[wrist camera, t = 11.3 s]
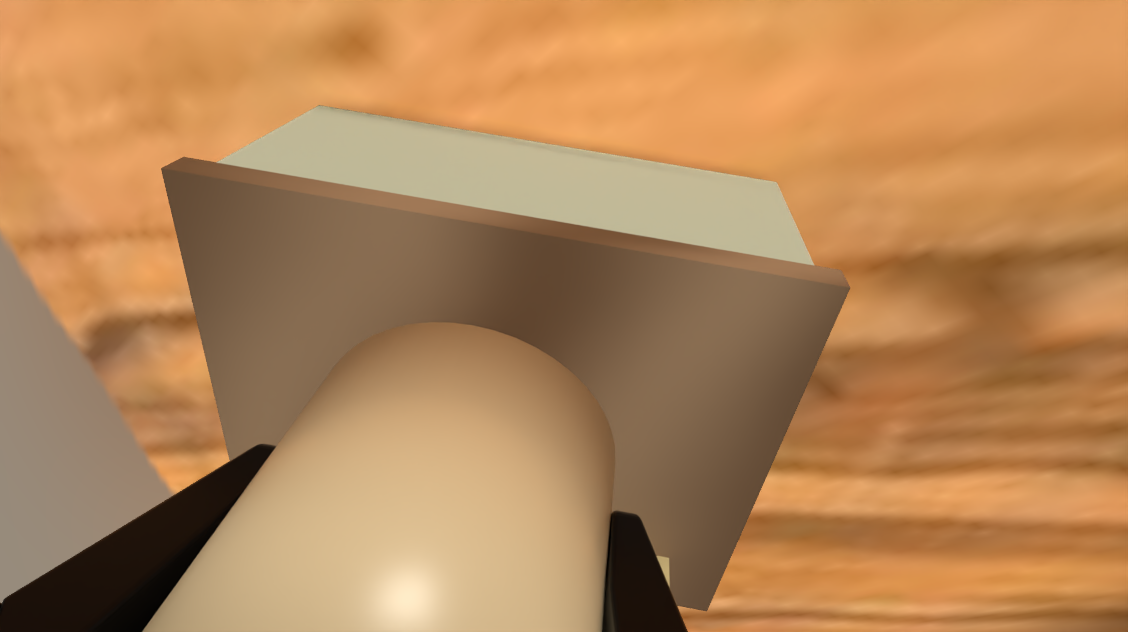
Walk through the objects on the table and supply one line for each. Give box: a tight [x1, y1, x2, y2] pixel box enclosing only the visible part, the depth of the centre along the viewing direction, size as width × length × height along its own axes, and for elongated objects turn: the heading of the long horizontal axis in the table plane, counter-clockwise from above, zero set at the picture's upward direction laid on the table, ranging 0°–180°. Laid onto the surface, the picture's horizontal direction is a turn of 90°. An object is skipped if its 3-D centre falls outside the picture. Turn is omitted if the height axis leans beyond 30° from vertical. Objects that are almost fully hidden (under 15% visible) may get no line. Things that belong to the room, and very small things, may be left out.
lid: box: [161, 157, 850, 611], centre depth 12 cm, size 12×9×2 cm
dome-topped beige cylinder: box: [142, 322, 616, 632], centre depth 8 cm, size 5×5×5 cm
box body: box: [216, 105, 814, 265], centre depth 15 cm, size 11×9×4 cm
